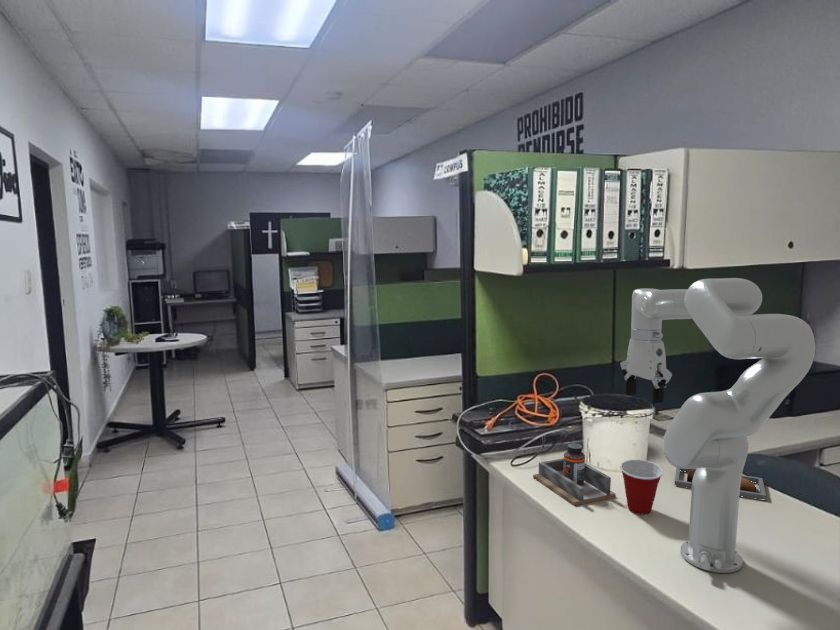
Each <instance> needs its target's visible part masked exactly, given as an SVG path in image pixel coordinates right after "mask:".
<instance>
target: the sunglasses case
mask: <svg viewBox="0 0 840 630" xmlns="http://www.w3.org/2000/svg"><path fill="white" fill-rule="evenodd" d="M695 471H696V470H691V471H689V473H687V477H686V481H687V482H692V480H693V476H694V473H695ZM755 486H756V484H755V483H753V482H751V481H749V480H747V479H745V478H742V477H741V484H740V490H742V491H748V492H755V493H757V491H756V487H757V486H756V487H755Z"/></svg>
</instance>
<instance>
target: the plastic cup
mask: <svg viewBox="0 0 840 630" xmlns="http://www.w3.org/2000/svg"><path fill="white" fill-rule="evenodd" d="M619 469H620V470H621V474H622V478H623V483H624V490H625V491H624V492H625V497H626V506H627V508H628V510H629V511H630V512H631V513H633V514H638V515H649V514H650V513H652V509H653V505H654V502H655V498H656V495H657V490H658V486H659V483H660V480H661V478H662V476H663V475H664V469H663V467H662V466H660V465H659V464H657V463H655V462H652V461H650V460H646V459H645V460H644V459H637V458H636V459H628V460H623V461H622V462H621V463H620V465H619Z"/></svg>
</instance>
